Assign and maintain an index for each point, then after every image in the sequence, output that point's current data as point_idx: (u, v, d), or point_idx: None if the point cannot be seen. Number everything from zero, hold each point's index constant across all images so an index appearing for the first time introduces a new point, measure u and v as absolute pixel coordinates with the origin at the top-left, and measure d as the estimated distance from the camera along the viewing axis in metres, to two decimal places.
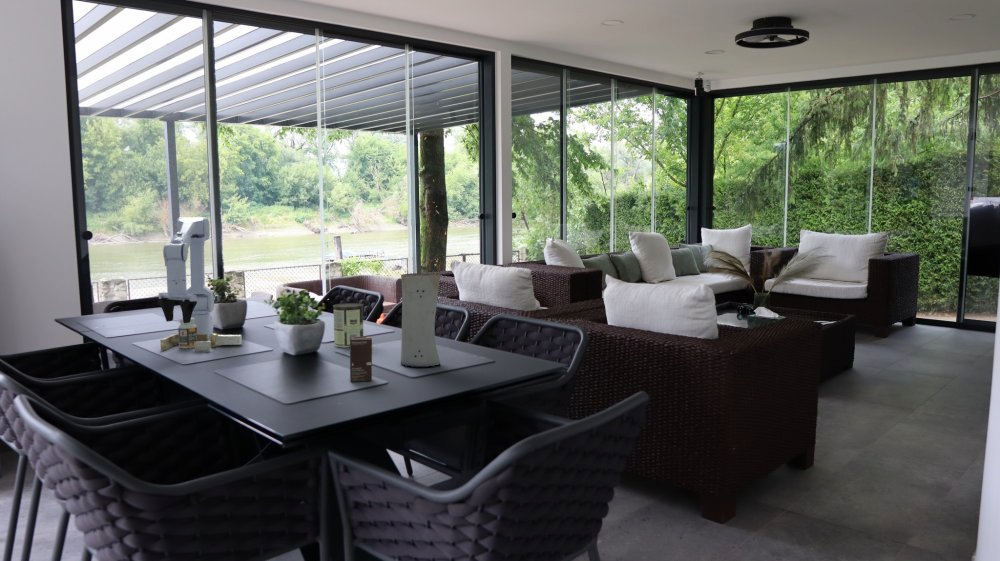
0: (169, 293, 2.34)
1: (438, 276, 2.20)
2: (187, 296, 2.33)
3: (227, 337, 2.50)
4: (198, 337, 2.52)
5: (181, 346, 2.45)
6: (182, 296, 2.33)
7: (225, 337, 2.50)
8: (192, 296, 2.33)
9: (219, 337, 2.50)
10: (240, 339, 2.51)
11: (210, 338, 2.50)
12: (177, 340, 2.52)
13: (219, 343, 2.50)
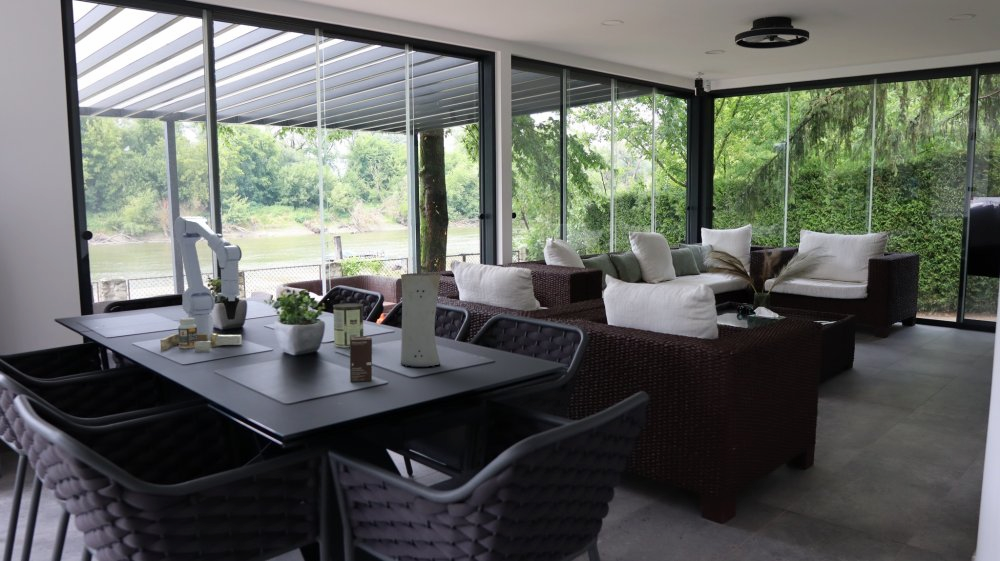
0: (221, 291, 2.51)
1: (438, 276, 2.20)
2: (227, 296, 2.46)
3: (227, 337, 2.50)
4: (198, 337, 2.52)
5: (181, 346, 2.45)
6: (225, 295, 2.47)
7: (225, 337, 2.50)
8: (229, 296, 2.45)
9: (219, 337, 2.50)
10: (240, 339, 2.51)
11: (210, 338, 2.50)
12: (177, 340, 2.52)
13: (219, 343, 2.50)
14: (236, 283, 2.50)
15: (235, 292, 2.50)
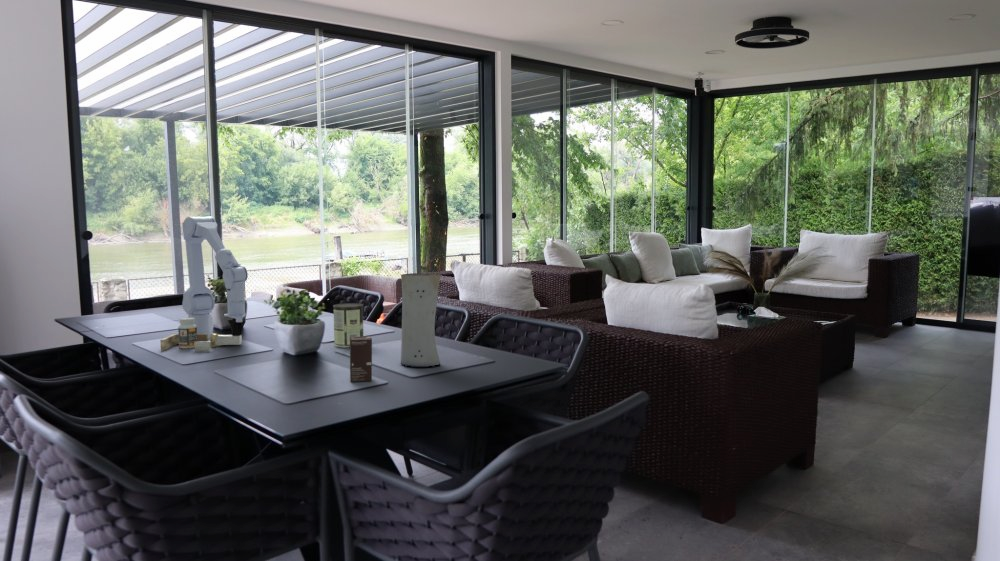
0: None
1: (438, 276, 2.20)
2: (234, 317, 2.47)
3: (227, 337, 2.50)
4: (198, 337, 2.52)
5: (181, 346, 2.45)
6: (232, 316, 2.48)
7: (225, 337, 2.50)
8: (237, 317, 2.46)
9: (219, 337, 2.50)
10: (240, 339, 2.51)
11: (210, 338, 2.50)
12: (177, 340, 2.52)
13: (219, 343, 2.50)
14: (242, 304, 2.52)
15: (242, 313, 2.51)
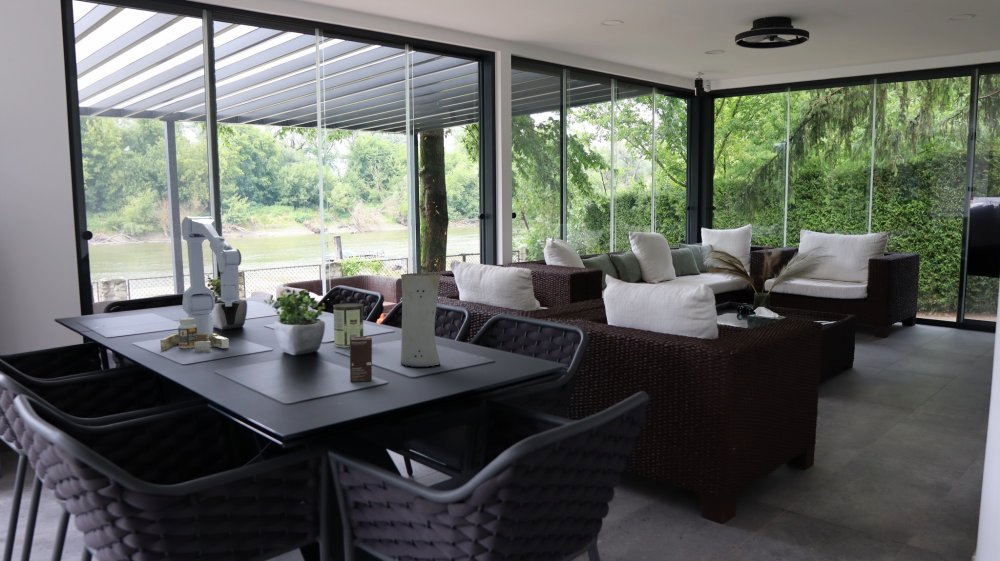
0: None
1: (438, 276, 2.20)
2: (224, 301, 2.40)
3: (216, 339, 2.46)
4: (198, 337, 2.52)
5: (181, 346, 2.45)
6: (223, 300, 2.42)
7: (215, 339, 2.47)
8: (226, 301, 2.39)
9: (213, 338, 2.48)
10: (225, 343, 2.44)
11: (209, 337, 2.51)
12: (177, 340, 2.52)
13: (213, 344, 2.49)
14: (235, 288, 2.45)
15: (234, 297, 2.44)
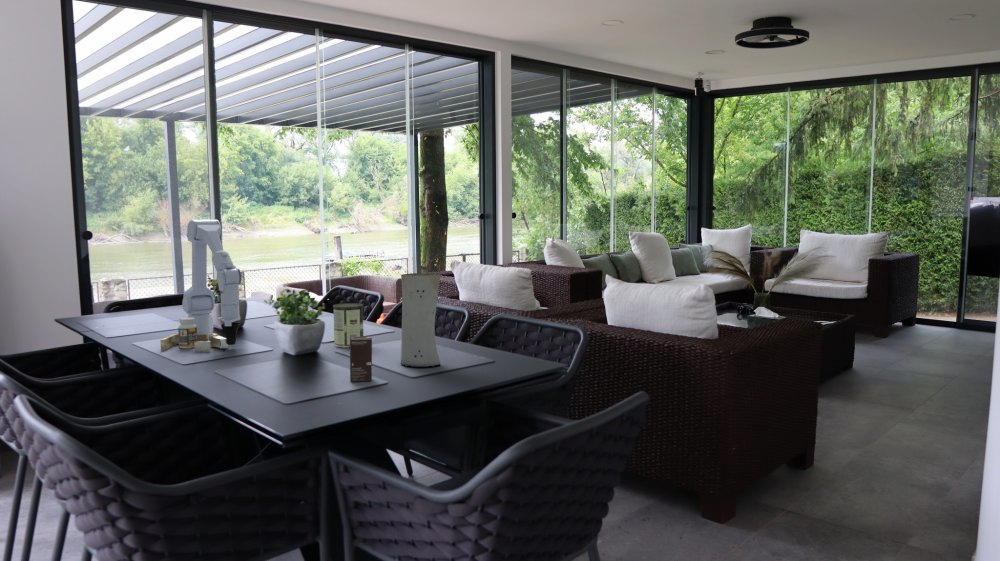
0: None
1: (438, 276, 2.20)
2: (224, 321, 2.39)
3: (216, 339, 2.46)
4: (198, 337, 2.52)
5: (181, 346, 2.45)
6: (223, 320, 2.40)
7: (215, 339, 2.47)
8: (225, 321, 2.37)
9: (212, 338, 2.48)
10: (224, 343, 2.44)
11: (209, 337, 2.51)
12: (177, 340, 2.52)
13: (213, 344, 2.49)
14: (235, 307, 2.43)
15: (234, 317, 2.42)
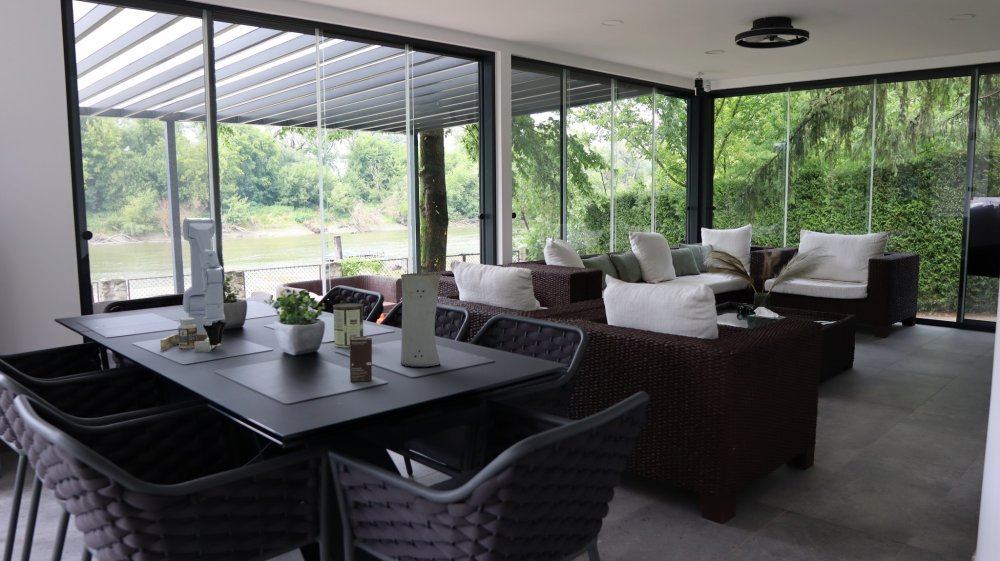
0: None
1: (438, 276, 2.20)
2: (205, 320, 2.38)
3: None
4: (198, 337, 2.52)
5: (181, 346, 2.45)
6: (205, 319, 2.39)
7: None
8: (205, 320, 2.36)
9: None
10: None
11: None
12: (177, 340, 2.52)
13: None
14: (218, 307, 2.41)
15: (217, 316, 2.41)
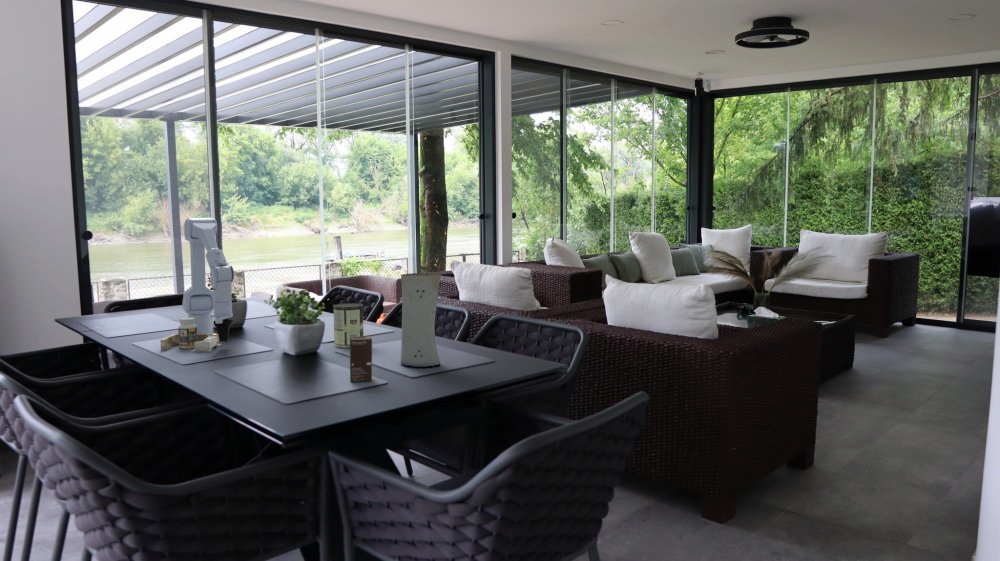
0: None
1: (438, 276, 2.20)
2: (215, 318, 2.39)
3: None
4: (198, 337, 2.52)
5: (181, 346, 2.45)
6: (215, 317, 2.40)
7: None
8: (216, 318, 2.38)
9: None
10: None
11: None
12: (177, 340, 2.52)
13: None
14: (227, 305, 2.43)
15: (226, 314, 2.43)
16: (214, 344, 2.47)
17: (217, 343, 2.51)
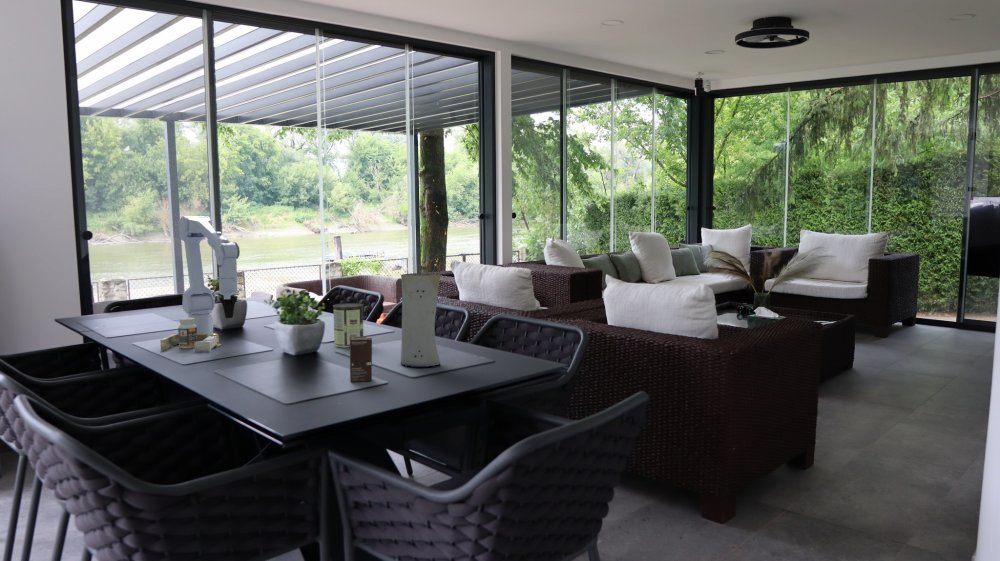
0: None
1: (438, 276, 2.20)
2: (223, 294, 2.42)
3: None
4: (198, 337, 2.52)
5: (181, 346, 2.45)
6: (222, 293, 2.43)
7: None
8: (225, 294, 2.41)
9: None
10: None
11: None
12: (177, 340, 2.52)
13: None
14: (233, 281, 2.46)
15: (232, 290, 2.46)
16: (214, 344, 2.47)
17: (217, 343, 2.51)
